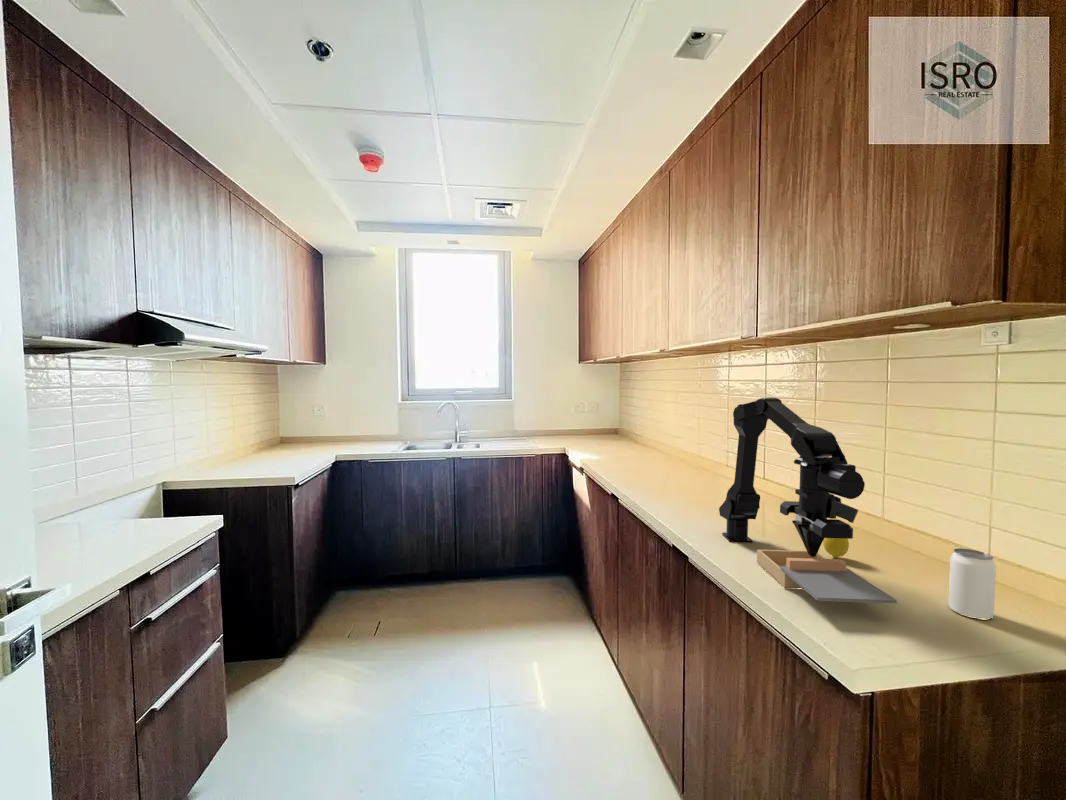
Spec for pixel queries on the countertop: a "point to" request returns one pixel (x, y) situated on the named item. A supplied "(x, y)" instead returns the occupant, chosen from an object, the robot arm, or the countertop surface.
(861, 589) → the lid
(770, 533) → the countertop surface
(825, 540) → the lemon
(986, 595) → the can
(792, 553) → the box
